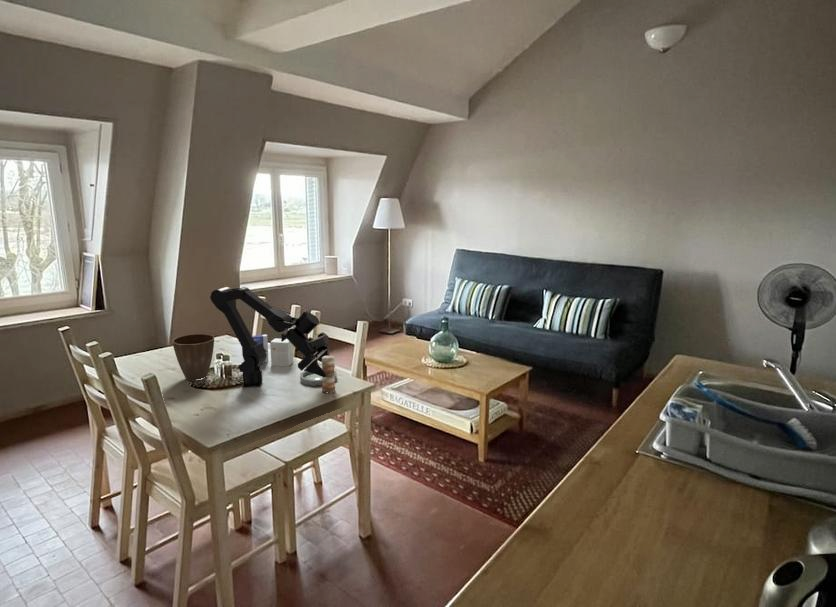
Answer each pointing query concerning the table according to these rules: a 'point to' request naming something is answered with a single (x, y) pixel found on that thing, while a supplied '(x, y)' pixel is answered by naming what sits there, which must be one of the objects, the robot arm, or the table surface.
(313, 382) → the round tray
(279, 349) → the small box
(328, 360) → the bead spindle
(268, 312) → the robot arm
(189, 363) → the plant pot
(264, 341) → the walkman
